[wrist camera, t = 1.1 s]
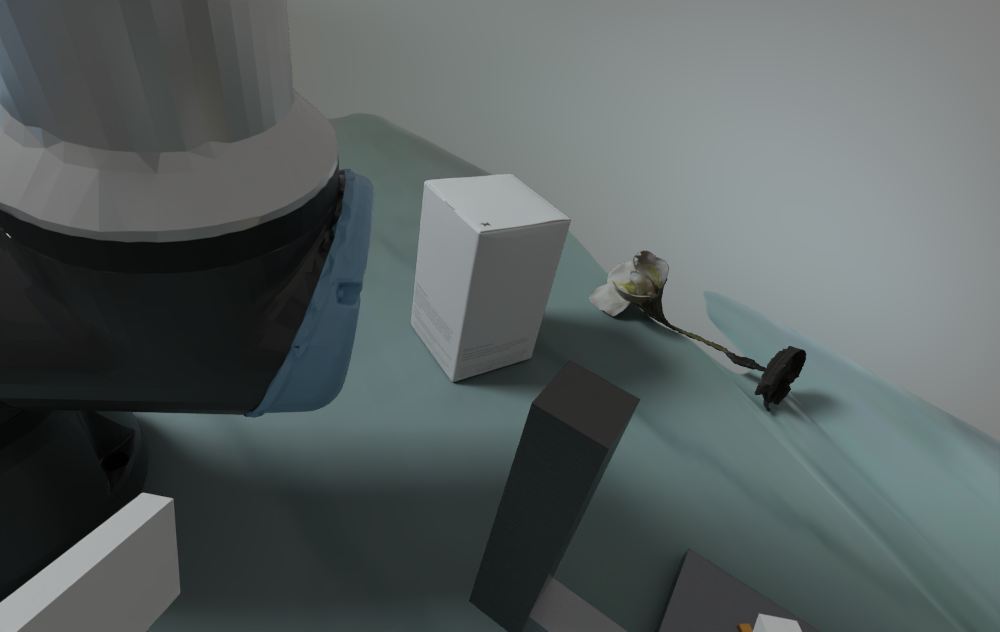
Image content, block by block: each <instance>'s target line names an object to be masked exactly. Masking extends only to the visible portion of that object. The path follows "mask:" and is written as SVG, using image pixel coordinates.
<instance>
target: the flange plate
mask: <svg viewBox="0 0 1000 632" xmlns="http://www.w3.org/2000/svg"><path fill="white" fill-rule="evenodd" d="M759 614H764V615H769V616H774V617H779V618H785V619H790V620H795V621H797V622H798V624H799V626H800V628H801V630H802V632H819V631H818V630H816V629H815V628H813V627H811V626H810V625H808V624H807V623H805V622H804V621H802V620H800V619H799V618H797V617H796V616H794V615H793V614H791V613H789V612H788V611H786V610H785V609H783V608H782V607H780V606H778V605H777V604H775V603H774V602H772V601H771V600H769V599H767V598H766V597H764V596H763V595H761V594H759V593H758V592H756V591H755V590H753V589H752V588H750V587H748V586H747V585H745V584H744V583H742V582H741V581H739V580H737V579H736V578H734V577H733V576H731V575H730V574H728V573H726V572H725V571H723V570H722V569H720V568H719V567H717V566H715V565H714V564H712V563H711V562H709V561H708V560H706V559H704V558H703V557H701V556H700V555H698V554H697V553H695V552H693V551H692V550H690V549H688V551H687V552H686V553H685V555H684V556H683V558H682V561H681V564H680V566H679V569H678V572H677V575H676V577H675V580H674V583H673V585H672V588H671V591H670V594H669V596H668V599H667V602H666V604H665V607H664V610H663V612H662V615H661V618H660V621H659V623H658V626H657V629H656V631H655V632H753V629H754V626H755V623H756V620H757V618H758V615H759Z"/></svg>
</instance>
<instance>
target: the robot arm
mask: <svg viewBox="0 0 1000 632" xmlns="http://www.w3.org/2000/svg"><path fill="white" fill-rule="evenodd" d="M350 170H351V169H344V170H339V157H338V144H337V139H336V135H335V132H334V129H333V127H332V126H331V124H330V123H329V121H328V120H327V118H326V117H325V116H324V115H323V114H322V113H321V112H320V111H319V110H318V109H317V108H316V107H315V106H313V105H312V104H311V103H310V102H309V101H307V100H306V99H305V98H304V97H303V96H301V95H300V94H299V93H298V92H297V91H296V90H294V88H293V79H292V66H291V53H290V40H289V27H288V14H287V1H286V0H0V632H146V631H147V630H148V629H149V628H150V627H151V625H152V624H153V623H154V622H155V621H156V620H157V619H158V618H159V617H160V616H161V614H162V613H163V612H164V611H165V610H166V609H167V608H168V607H169V606H170V604H171V603H172V602H173V601H174V600H175V599H176V598H177V597H178V596H179V594H180V579H179V566H178V552H177V539H176V525H175V512H174V499H173V498H168V497H163V496H158V495H153V494H148V493H141V494H140V495H139V493H140V491H141V488H142V486H143V483H144V480H145V476H146V471H147V461H148V459H147V449H146V445H145V442H144V439H143V436H142V433H141V430H140V428H139V425H138V422H137V420H136V418H135V416H134V415H133V413H132V412H158V413H195V414H233V415H244V416H245V417H254V418H255V417H258V416H261V415H263V414H265V413H279V412H306V411H313V410H317V409H320V408H322V407H324V406H326V405H327V404H329V403H330V402H332V401H333V400H334V399H335V398H336V397H337V395H338V394H339V392H340V391H341V389H342V387H343V384H344V382H345V378H346V375H347V371H348V367H349V362H350V358H351V353H352V348H353V343H354V338H355V332H356V327H357V321H358V314H359V308H360V292H361V290H362V286H363V279H364V273H365V269H366V264H367V258H368V250H369V243H370V235H371V226H372V217H373V205H374V188H373V185H372V183H371V181H370V180H369V179H368V178H366V177H364V176H361V175H358V174H355V173H354V172H353V171H350ZM138 495H139V496H138ZM753 632H802V630H801V628H800V626H799V624H798V622H797V621H795V620H790V619H785V618H779V617H774V616H769V615H764V614H759V615H758V618H757V620H756V623H755V626H754V629H753Z"/></svg>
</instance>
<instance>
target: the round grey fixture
mask: <svg viewBox="0 0 1000 632" xmlns="http://www.w3.org/2000/svg"><path fill="white" fill-rule="evenodd" d="M639 401H640V399H639V398H637V397H635V396H633V395H631V394H629V393H628V392H626V391H624V390H622V389H620V388H619V387H617V386H615V385H613V384H611V383H610V382H608V381H606V380H604V379H602V378H600V377H599V376H597V375H595V374H593V373H591V372H590V371H588V370H586V369H584V368H582V367H580V366H579V365H577V364H575V363H573V362H571V361H569V362H568V363H567V364H566V365H565V366H564V368H563V369H562V370H561V371H560V372H559V373H558V374H557V375H556V377H555V378H554V379H553V380H552V381H551V382H550V383H549V384H548V385H547V387H546V388H545V389H544V390H543V391H542V392H541V393H540V394H539V396H538V397H537V398H536V399H535V400H534V401H533V402H532V404H531V407H530V411H529V414H528V417H527V420H526V423H525V426H524V429H523V433H522V436H521V439H520V442H519V445H518V448H517V452H516V455H515V458H514V461H513V464H512V467H511V470H510V474H509V477H508V480H507V483H506V486H505V489H504V493H503V496H502V499H501V502H500V505H499V508H498V512H497V515H496V518H495V521H494V524H493V527H492V530H491V534H490V537H489V540H488V543H487V546H486V549H485V553H484V556H483V559H482V562H481V565H480V568H479V571H478V575H477V578H476V581H475V584H474V587H473V590H472V594H471V597H470V600H469V601H470V602H471V603H472V604H474V605H475V606H476V607H477V608H479V609H480V610H481V611H482V612H484V613H485V614H486V615H488V616H489V617H490V618H491V619H493V620H494V621H495V622H496V623H498V624H499V625H500V626H501V627H503V628H504V629H505V630H506V631H508V632H628V631H626V630H625V629H624V628H622V627H621V626H619V625H618V624H617V623H615V622H614V621H613V620H611V619H610V618H608V617H607V616H606V615H604V614H603V613H601V612H600V611H599V610H597V609H596V608H595V607H593V606H592V605H590V604H589V603H588V602H586V601H585V600H583V599H582V598H581V597H579V596H578V595H577V594H575V593H574V592H572V591H571V590H570V589H568V588H567V587H566V586H564V585H563V584H561V583H560V582H559V581H557V580H556V579H554V578H553V575H554V573H555V571H556V569H557V567H558V565H559V563H560V561H561V559H562V557H563V555H564V553H565V551H566V549H567V547H568V545H569V543H570V541H571V539H572V537H573V535H574V533H575V531H576V529H577V527H578V525H579V523H580V521H581V518H582V516H583V514H584V512H585V510H586V508H587V506H588V504H589V502H590V500H591V498H592V496H593V494H594V492H595V490H596V488H597V486H598V484H599V482H600V480H601V478H602V476H603V474H604V472H605V470H606V468H607V466H608V464H609V462H610V460H611V458H612V456H613V454H614V452H615V450H616V448H617V446H618V444H619V441H620V439H621V437H622V435H623V433H624V431H625V429H626V427H627V425H628V423H629V421H630V419H631V417H632V415H633V413H634V411H635V409H636V407H637V405H638V403H639Z"/></svg>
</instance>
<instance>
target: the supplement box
mask: <svg viewBox="0 0 1000 632" xmlns="http://www.w3.org/2000/svg"><path fill="white" fill-rule="evenodd" d="M570 222H571V219H569V218H568V217H566V216H565V215H564V214H563V213H561V212H560V211H559V210H557V209H556V208H555V207H554V206H552V205H551V204H550V203H548V202H547V201H546V200H544V199H543V198H541V197H540V196H539V195H538V194H537V193H535V192H534V191H533V190H531V189H530V188H529V187H527V186H526V185H525V184H524V183H522V182H521V181H519V180H518V179H517V178H516V177H515V176H513V175H512V174H503V175H502V174H501V175H490V176H480V177H466V178H449V179H435V180H427V181H425V183H424V193H423V203H422V214H421V224H420V235H419V245H418V255H417V266H416V276H415V286H414V297H413V307H412V317H411V325H412V327H413V328H414V330H415V331H416V332H417V334H418V335H419V337H420V338H421V339H422V341H423V342H424V344H425V345H426V346H427V348H428V349H429V351H430V352H431V353H432V355H433V356H434V357H435V359H436V360H437V362H438V363H439V364H440V366H441V367H442V369H443V370H444V371H445V373H446V374H447V376H448V377H449V378H450V380H451V381H452V382H456V381H459V380H462V379H465V378H469V377H472V376H475V375H478V374H482V373H485V372H488V371H491V370H495V369H498V368H501V367H505V366H508V365H511V364H514V363H517V362H521V361H524V360H527V359H530V358H531V357H532V354H533V350H534V347H535V343H536V340H537V336H538V333H539V329H540V326H541V322H542V319H543V315H544V312H545V308H546V305H547V301H548V298H549V294H550V291H551V287H552V284H553V280H554V277H555V273H556V270H557V267H558V263H559V260H560V257H561V253H562V250H563V246H564V243H565V239H566V236H567V232H568V228H569V225H570Z"/></svg>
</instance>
